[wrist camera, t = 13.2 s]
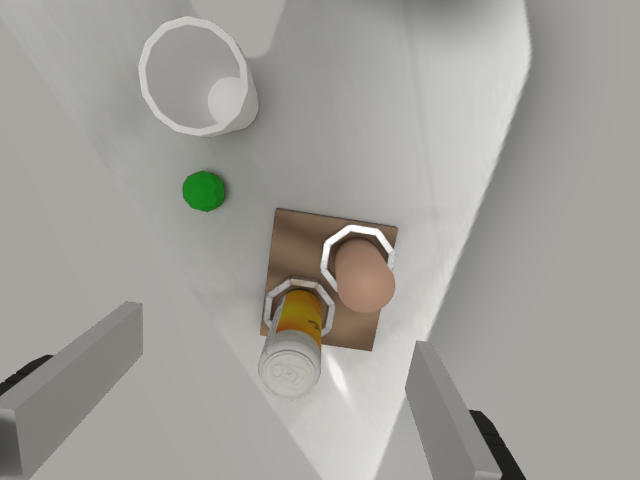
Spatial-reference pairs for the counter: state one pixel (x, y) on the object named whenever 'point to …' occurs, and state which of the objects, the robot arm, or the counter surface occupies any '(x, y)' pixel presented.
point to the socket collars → (326, 273)
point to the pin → (362, 276)
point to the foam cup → (197, 79)
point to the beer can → (293, 347)
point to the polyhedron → (203, 191)
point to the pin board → (304, 260)
